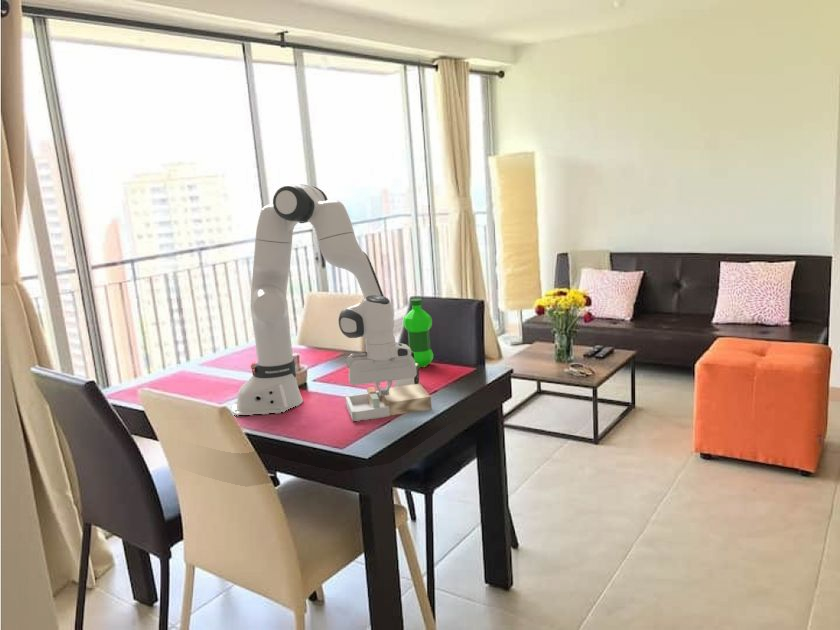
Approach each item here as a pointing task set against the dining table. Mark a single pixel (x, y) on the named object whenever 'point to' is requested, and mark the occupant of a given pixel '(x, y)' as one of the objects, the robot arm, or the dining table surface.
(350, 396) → the grey box
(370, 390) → the terracotta tile
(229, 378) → the dining table surface
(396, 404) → the birch block
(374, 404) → the sage tile
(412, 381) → the medicine bottle
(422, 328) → the plastic bottle
